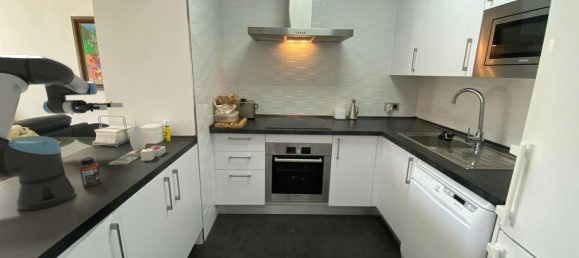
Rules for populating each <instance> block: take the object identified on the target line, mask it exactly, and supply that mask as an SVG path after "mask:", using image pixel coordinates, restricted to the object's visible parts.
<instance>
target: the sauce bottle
mask: <svg viewBox="0 0 579 258" xmlns="http://www.w3.org/2000/svg"><path fill="white" fill-rule="evenodd" d="M134 123H135V124H134V125H133V127H132V129H131V130H130V135H129V143H130V147H131V148H132V149H133V150H136V151H141V150H143V149H146V145H147V138H146V135H145V132H144V130H143V129H142V128H141V127H140V126H139V124H137V121H136V120H135V122H134Z"/></svg>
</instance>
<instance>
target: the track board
mask: <svg viewBox="0 0 579 258" xmlns="http://www.w3.org/2000/svg"><path fill="white" fill-rule="evenodd" d="M141 151H142V150H141ZM141 151H136V150H134V149H133V150H132V151H130V152H128V153H126V154H124V155H122V156H120V157H118V158H115V159H114V160H112V161H110V162H109V163H108V165H109V166H110V165H111V166H112V165H115V166H117V165H119V166H120V165H128V164H130V163H132V162H133V161H135V160H137V159H139V158H141V153H140V152H141Z"/></svg>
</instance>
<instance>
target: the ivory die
mask: <svg viewBox="0 0 579 258" xmlns="http://www.w3.org/2000/svg"><path fill="white" fill-rule="evenodd" d="M140 153H141V157H140V159H141V162H145V161H146V162H148V161H153V160H154V159H155V155H154V149H148V148H144V149H143V150H142V151H141V152H140Z"/></svg>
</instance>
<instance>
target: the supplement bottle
mask: <svg viewBox="0 0 579 258" xmlns="http://www.w3.org/2000/svg"><path fill="white" fill-rule="evenodd" d="M80 163H81V164H80V165H79V166H78V168H79V173H80V178H81V183H82V186H83V187H86V188H87V187H88V188H89V187H95V186H97V185H99V184H101V182H102V181H101V180H102V179H101V174H100V169H99V163H98V162H96V161H95V158H94V157H93V156H87V157H83V158H81V160H80Z"/></svg>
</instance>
